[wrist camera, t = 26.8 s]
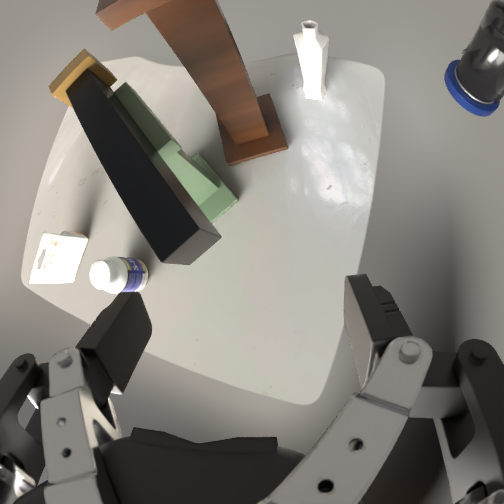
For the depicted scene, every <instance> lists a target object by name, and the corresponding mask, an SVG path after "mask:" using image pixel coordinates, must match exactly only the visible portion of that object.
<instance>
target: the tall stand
mask: <svg viewBox="0 0 504 504" xmlns="http://www.w3.org/2000/svg"><path fill="white" fill-rule="evenodd" d="M144 13H146V14H147V16H148V17H149V18H150V20H151V21H152V22H153V23H154V25H155V26H156V28H157V29H158V30H159V32H160V33H161V35H162V36H163V37H164V39H165V40H166V41H167V43H168V44H169V46H170V47H171V48H172V50H173V51H174V53H175V54H176V55H177V57H178V58H179V60H180V61H181V63H182V64H183V65H184V67H185V68H186V70H187V71H188V73H189V74H190V76H191V77H192V78H193V80H194V81H195V83H196V84H197V86H198V87H199V89H200V90H201V92H202V93H203V95H204V96H205V98H206V99H207V101H208V102H209V104H210V105H211V107H212V108H213V110H214V111H215V113H216V117H217V122H218V126H219V130H220V135H221V139H222V144H223V148H224V152H225V157H226V161H227V164H228V165H229V166H231V165H234V164H238V163H241V162H244V161H247V160H251V159H254V158H258V157H261V156H264V155H268V154H272V153H275V152H279V151H282V150H286V149H288V147H287V144H286V141H285V138H284V135H283V132H282V128H281V125H280V122H279V119H278V116H277V113H276V110H275V108H274V105H273V102H272V99H271V96H270V94H266V95H262V96H259V97H257V96H256V94H255V91H254V88H253V86H252V83H251V81H250V78H249V75H248V73H247V70H246V68H245V65H244V63H243V60H242V58H241V55H240V53H239V50H238V48H237V45H236V43H235V40H234V38H233V36H232V33H231V31H230V28H229V26H228V24H227V21H226V19H225V17H224V14H223V12H222V10H221V7H220V5H219V3H218V1H217V0H99V3H98V7H97V10H96V15H97V16H98V17H99V18H100V19H101V20H102V21H103V23H105V25H107V27H108V28H109V29H110V30H114V29H116V28H117V27H119V26H121V25H123V24H124V23H126V22H128V21H130V20H132V19H133V18H136V17H137V16H139V15H142V14H144Z"/></svg>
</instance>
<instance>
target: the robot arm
mask: <svg viewBox="0 0 504 504" xmlns="http://www.w3.org/2000/svg"><path fill="white" fill-rule="evenodd" d="M462 54H464V55H463V56H462V58H461V60H460V61H459V63H458V64H457V66H456V67H455V69H454V77H455V80H456V82H457V84H458V86H459V87H460V89H461V90H462V91H463V92H464V93H465V94H466V95H467V96H468V97H469V98H470V99H472V100H473V101H475V102H477V103H479V104H482V105H490V104H492V103H498V101H499V100H500V99H501V98H502V97H503V96H504V0H492V1H491V2H490V4H489V6H488V8H487V10H486V12H485V14H484V16H483V18H482V20H481V22H480V24H479V26H478V28H477V30H476V32H475V34H474V36H473V38H472V40H471V41H470V43H469V45H468V47H467V49H464V50H463V51H462ZM344 322H345V327H346V330H347V334H348V338H349V342H350V345H351V349H352V352H353V356H354V360H355V364H356V368H357V372H358V376H359V380H360V384H361V388H362V390H361V391H360V393H358V392H355V393H353V394H352V396H351V397H350V398H349V399H348V401H347V402H346V404H345V405H344V407H343V408H342V409H341V411H340V412H339V414H338V415H337V416H336V418H335V419H334V420H333V422H332V423H331V425H330V426H329V427H328V428H327V430H326V431H325V432H324V434H323V435H322V436H321V437H320V439H319V440H318V441H317V442H316V444H315V445H314V446H313V447H312V449H311V450H310V451H309V452H308V453H307V455H304V454H302V453H299V452H297V451H294V450H291V449H287V448H283V447H278V443H277V437H236V438H231V439H225V440H219V441H213V442H207V443H193V442H191V441H188V440H185V439H182V438H179V437H177V436H174V435H171V434H168V433H166V432H161V431H155V430H148V429H141V428H136V427H134V428H133V430H132V434H131V436H129V437H123V434H122V432H121V429H120V426H119V423H118V420H117V417H116V414H115V411H114V408H113V404H112V401H111V400H110V399H109V395H110V393H115V394H123V392H124V390H125V388H126V386H127V384H128V382H129V380H130V378H131V375H132V373H133V371H134V369H135V367H136V365H137V363H138V361H139V359H140V357H141V355H142V353H143V351H144V349H145V347H146V345H147V343H148V341H149V339H150V337H151V334H152V324H151V321H150V318H149V316H148V313H147V310H146V308H145V305H144V302H143V300H142V297H141V295H140V293H139V292H137V291H132V292H120V293H119V294H118V295H117V297H116V298H115V299H114V301H113V302H112V303H111V304H110V305H109V306H108V307H106V308H105V309H104V310H103V311H102V312H101V313H100V314H99V315H98V317H97V318H96V321H94V322H93V323H92V325H91V327H90V328H89V329H88V330H87V332H86V333H85V335H84V336H83V337H82V338H81V340H80V341H79V343H78V344H77V345H76V347H75V348H74V347H68V348H64V349H62V350H60V351H58V352H57V353H56V354H55V355H54V356H53V357H52V358H51V360H50V362H49V363H42V364H39V363H38V361H37V360H36V358H35V357H34V355H32V354H24V355H21V356H19V357H18V358H17V359H15V360H14V362H13V363H12V364H11V365H10V367H9V369H8V370H7V371H6V373H5V374H4V375H3V377H2V378H1V380H0V504H364V503H363V502H361V501H360V500H361V498H362V497H363V495H364V494H365V492H366V491H367V489H368V488H369V486H370V485H371V483H372V481H373V480H374V478H375V477H376V475H377V473H378V472H379V470H380V469H381V467H382V465H383V464H384V462H385V460H386V459H387V457H388V455H389V453H390V452H391V450H392V448H393V446H394V444H395V442H396V440H397V438H398V437H399V435H400V433H401V430H402V429H403V427H404V424H405V422H406V421H407V419H408V417H417V418H433V419H434V423H435V426H436V430H437V434H438V437H439V441H440V445H441V449H442V454H443V458H444V462H445V467H446V471H447V476H448V481H449V486H450V492H451V498H452V504H504V364H503V363H502V361H501V359H500V358H499V356H498V354H497V352H496V351H495V349H494V348H493V347H492V346H491V345H490V344H489V343H487V342H485V341H482V340H478V339H471V340H467V341H465V342H464V343H462V344H461V345H460V347H459V349H458V352H457V353H449V352H435V351H432V349H431V347H430V346H429V345H428V344H427V343H426V342H425V341H424V340H422V339H420V338H417V337H414V336H413V335H412V333H411V331H410V329H409V327H408V325H407V323H406V321H405V319H404V317H403V315H402V314H401V312H400V311H399V308H398V306H397V304H395V301H394V299H393V297H392V295H391V294H390V292H388V291H387V290H386V289H384V288H383V287H382V286H373V287H372V285H371V283H370V281H369V279H368V277H367V275H366V274H359V275H350V276H346V277H345V292H344ZM26 397H28V398H29V399H30V400H31V402H32V403H33V404H34V405H35V406H36V410H35V412H34V414H33V415H32V418H31V419H30V421H29V423H28V425H27V427H26V429H24V428H23V427H21V425H20V424H19V422H18V419H17V415H18V412H19V410H20V408H21V406H22V405H23V403H24V401H25V399H26ZM45 464H46V470H47V476H48V480H47V481H45V482H44V483H42V484H40V485H38V482H39V479H40V477H41V474H42V471H43V469H44V467H45ZM37 485H38V486H37Z"/></svg>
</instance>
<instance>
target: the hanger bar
mask: <svg viewBox="0 0 504 504" xmlns="http://www.w3.org/2000/svg"><path fill="white" fill-rule="evenodd" d="M116 81H117V79H116V78H115V76H114V75H113V74H112V73H111V72H110V71H109V70H108V69H107V68H106V67H105V66H104V65H103V64H101V63H100V62H99V61H98V60H97V59H96V58H95V57H94V56H93V55H91V54H90V53H89V52H88V51H87V50H86V49H83V50H82V52H80V53H79V54H78V55H77V56H76V57H75V58H74V59H73V60H72V61H71V62H70V63H69V64H68V65H67V67H65V69H64V70H63V71H62V72H61V73H60V74H59V75H58V76H57V77H56V79H55V80H54V81H53V82H52V83H51V84H50V85H49V89H50V91H51V94H52V95H53V96H54V97H56V98H58V99H59V100H61V101H62V102H64V103H65V104H67V105H68V106H70V107H71V108H73V109H74V111H75V113H76V115H77V117H78V119H79V121H80V123H81V125H82V127H83V129H84V131H85V133H86V135H87V137H88V139H89V141H90V143H91V145H92V147H93V149H94V151H95V152H96V154H97V156H98V158H99V160H100V162H101V164H102V165H103V167H104V169H105V171H106V173H107V174H108V176H109V178H110V180H111V182H112V183H113V185H114V187H115V189H116V190H117V192H118V194H119V196H120V197H121V199H122V201H123V202H124V204H125V206H126V207H127V209H128V211H129V212H130V214H131V216H132V217H133V219H134V221H135V222H136V224H137V226H138V227H139V229H140V230H141V232H142V234H143V235H144V237H145V238H146V240H147V241H148V243H149V245H150V246H151V248H152V249H153V251H154V252H155V254H156V255H157V257H158V259H159V260H160V262H161V263H169V264H182V265H190V264H191V263H193V262H194V261H195V260H196V259H197V258H198V257H200V256H201V255H202V254H203V253H204V252H205V251H207V250H208V249H209V248H210V247H211V246H212V245H214V244H215V243H216V242H217V241H218V240H219V239H221V235H220V234H219V233H218V231H217V230H216V229H215V227H214V226H213V225H212V223H211V222H210V221H209V220H208V218H207V217H206V216H205V214H204V213H203V212H202V210H201V209H200V208H199V206H198V205H197V204H196V202H195V201H194V200H193V198H192V197H191V196H190V194H189V193H188V192H187V190H186V189H185V188H184V186H183V185H182V184H181V182H180V181H179V180H178V178H177V177H176V176H175V174H174V173H173V172H172V170H171V169H170V168H169V166H168V165H167V164H166V162H165V161H164V160H163V158H162V157H161V156H160V154H159V153H158V152H157V150H156V149H155V148H154V146H153V145H152V144H151V142H150V141H149V140H148V138H147V137H146V135H145V134H144V133H143V131H142V130H141V129H140V127H139V126H138V125H137V123H136V122H135V121H134V119H133V118H132V116H131V115H130V114H129V112H128V111H127V110H126V108H125V107H124V106H123V104H122V103H121V101H120V100H119V99H118V97H117V96H116V95H115V93H114V92H113V90H112V89H111V88H110V86H112V85H113V84H114V83H115V82H116Z"/></svg>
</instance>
